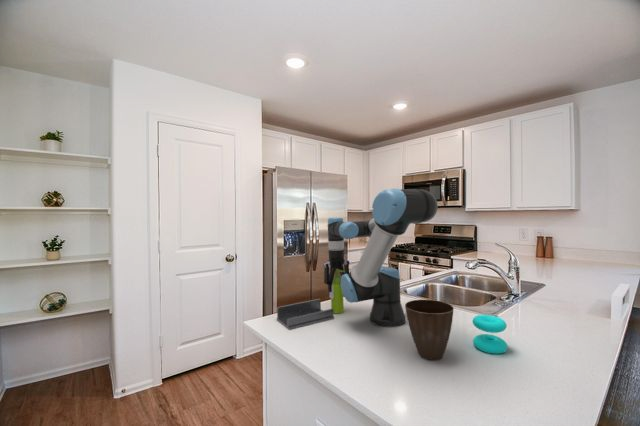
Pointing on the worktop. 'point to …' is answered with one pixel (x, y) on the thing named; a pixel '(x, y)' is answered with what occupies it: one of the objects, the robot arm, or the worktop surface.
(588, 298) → the worktop surface
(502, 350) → the donuts
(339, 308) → the soap dispenser
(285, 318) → the track
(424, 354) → the plant pot
